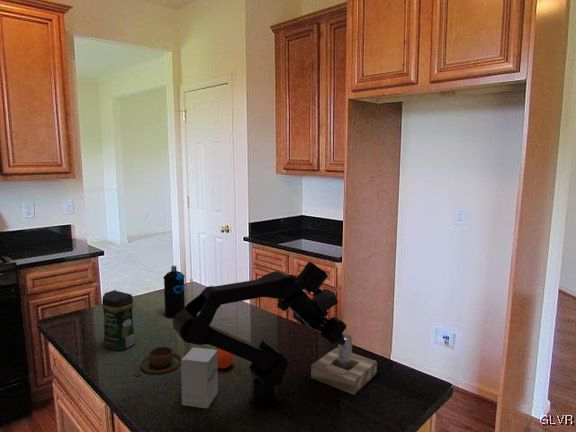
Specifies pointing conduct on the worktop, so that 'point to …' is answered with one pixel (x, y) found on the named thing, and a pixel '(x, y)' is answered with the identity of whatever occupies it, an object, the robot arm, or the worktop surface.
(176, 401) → the worktop surface
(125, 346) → the coffee jar
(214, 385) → the supplement box
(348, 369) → the peg
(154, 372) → the place setting
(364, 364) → the hole block
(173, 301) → the aerosol can
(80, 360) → the worktop surface
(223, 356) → the clementine
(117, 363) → the worktop surface
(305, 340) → the worktop surface
